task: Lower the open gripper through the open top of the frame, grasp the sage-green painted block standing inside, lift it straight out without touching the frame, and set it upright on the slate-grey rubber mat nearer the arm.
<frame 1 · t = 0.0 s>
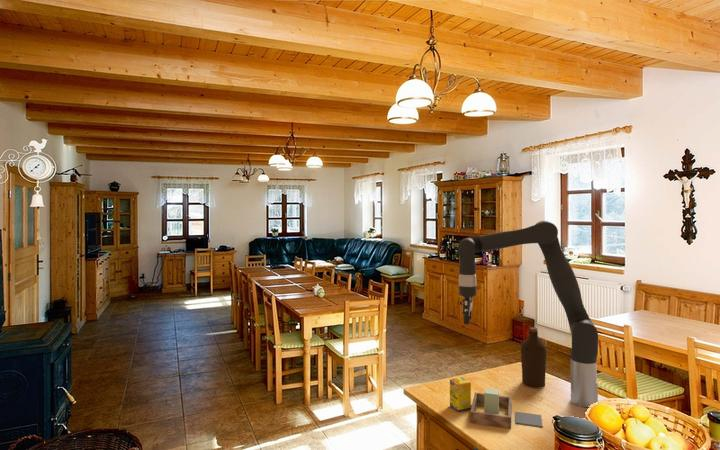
hand: (467, 321, 188), 29 cm above the table, fingers open, 8 cm apart
block: (491, 402, 164), in the frame
olive oil: (533, 384, 193), on the table
mat: (528, 419, 160), on the table
supplement box: (460, 408, 170), on the table
frame: (491, 414, 164), on the table
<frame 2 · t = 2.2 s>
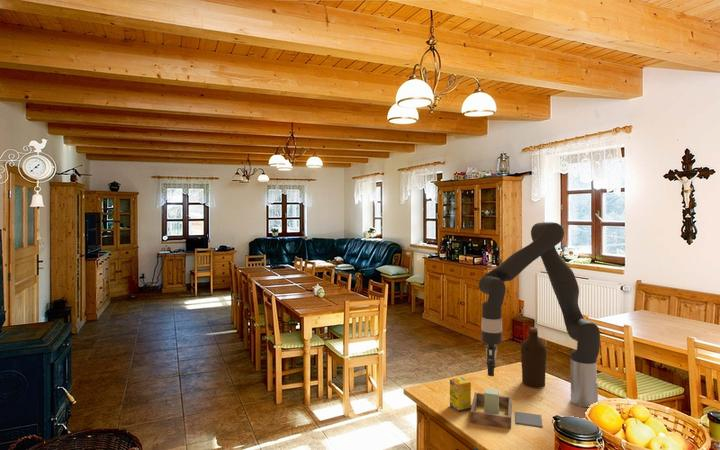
hand: (491, 371, 164), 16 cm above the table, fingers open, 8 cm apart
nothing on the table moved.
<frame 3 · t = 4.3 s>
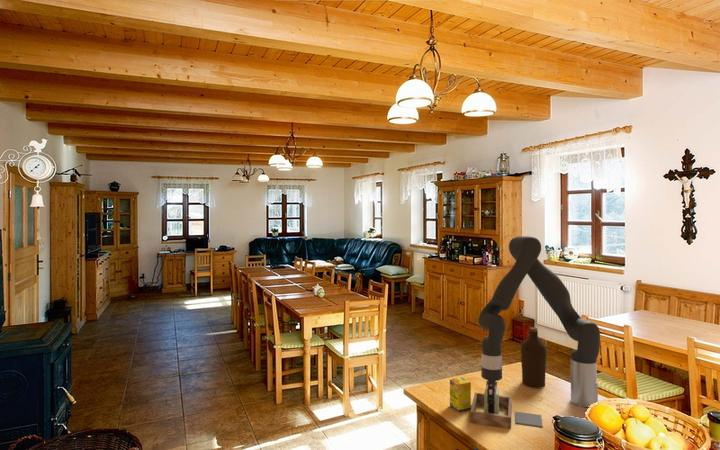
hand: (491, 409, 164), 2 cm above the table, fingers closed on block, 5 cm apart
block: (491, 402, 164), in the frame, touching gripper
everything else where it was.
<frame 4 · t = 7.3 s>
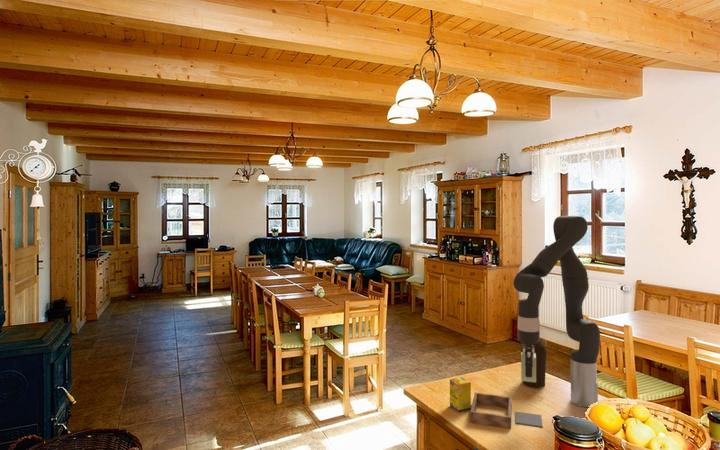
hand: (528, 373, 159), 17 cm above the table, fingers closed on block, 5 cm apart
block: (528, 367, 159), point 20 cm above the table, touching gripper
everything else where it was.
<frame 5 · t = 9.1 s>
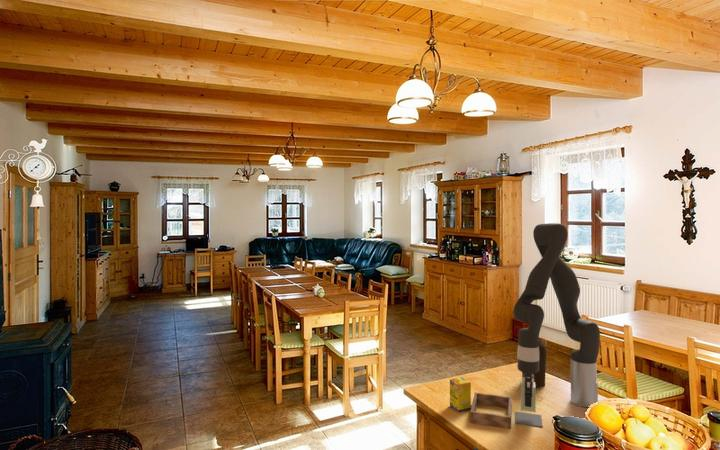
hand: (528, 403, 160), 6 cm above the table, fingers closed on block, 5 cm apart
block: (528, 396, 160), point 9 cm above the table, touching gripper
everything else where it was.
when the fingers open (4 cm above the table, at t = 10.5 s): block drops 2 cm, resting on mat.
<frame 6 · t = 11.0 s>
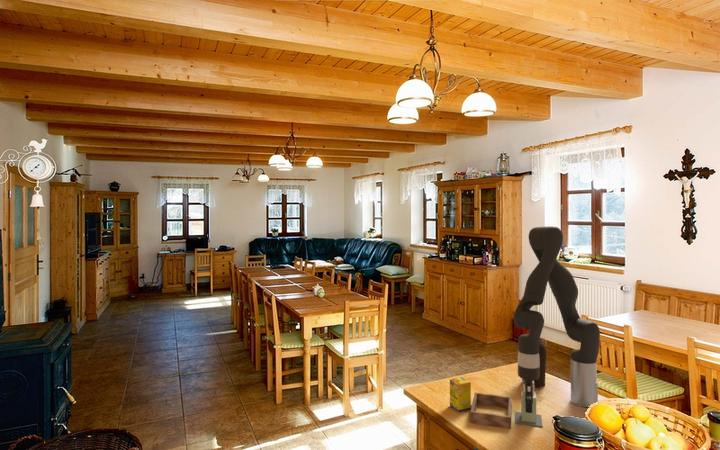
hand: (528, 407, 160), 5 cm above the table, fingers open, 8 cm apart
block: (528, 406, 160), on the mat
everything else where it was.
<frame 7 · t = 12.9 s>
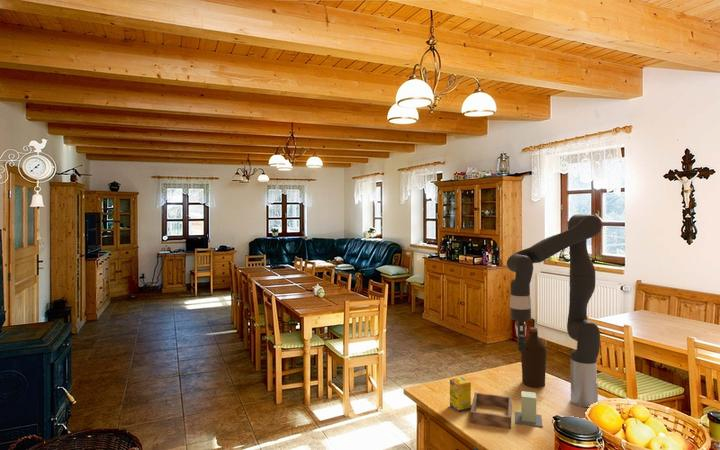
hand: (521, 348, 168), 24 cm above the table, fingers open, 8 cm apart
nothing on the table moved.
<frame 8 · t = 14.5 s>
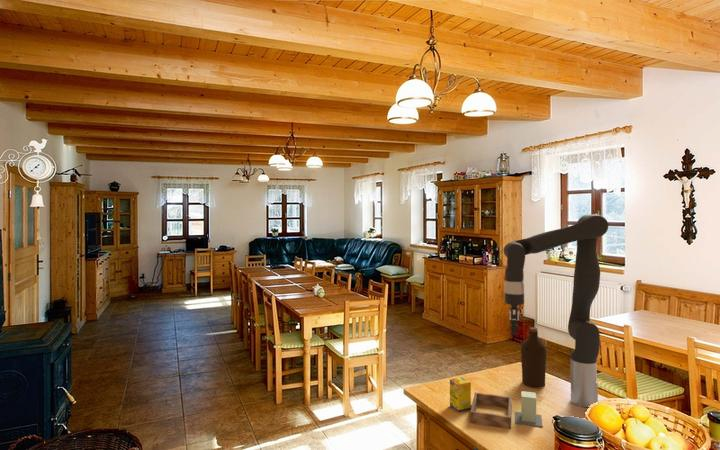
hand: (514, 331, 176), 28 cm above the table, fingers open, 8 cm apart
nothing on the table moved.
at the end: block inside the target area on the mat (0.0 cm from its centre), point 4.9 cm above the mat's base; block tilted 0°; the gripper is holding nothing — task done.
